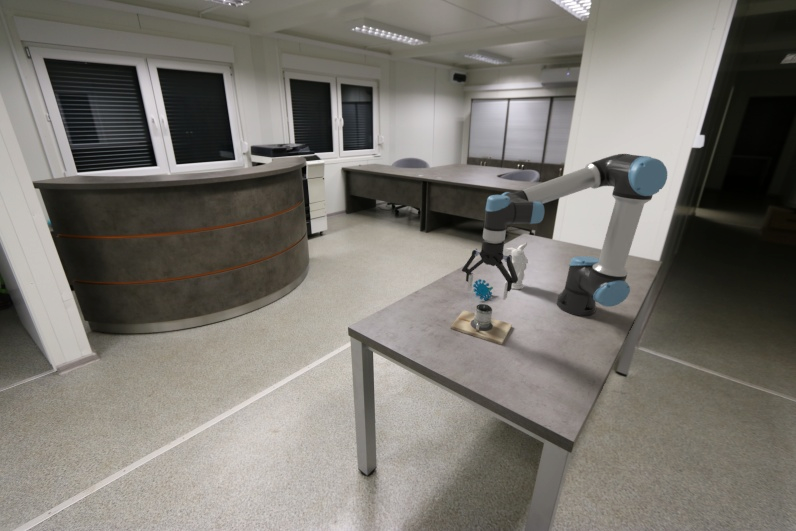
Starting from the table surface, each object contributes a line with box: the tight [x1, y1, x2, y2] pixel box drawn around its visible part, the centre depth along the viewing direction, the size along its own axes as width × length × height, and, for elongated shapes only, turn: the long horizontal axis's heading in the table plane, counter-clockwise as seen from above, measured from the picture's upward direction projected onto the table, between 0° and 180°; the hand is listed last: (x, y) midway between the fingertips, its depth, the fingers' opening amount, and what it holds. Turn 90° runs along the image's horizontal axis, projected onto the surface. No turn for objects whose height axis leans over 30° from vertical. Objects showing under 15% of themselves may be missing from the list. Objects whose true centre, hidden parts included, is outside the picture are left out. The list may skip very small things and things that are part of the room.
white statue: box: [504, 240, 529, 291], centre depth 169 cm, size 12×12×22 cm
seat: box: [471, 320, 493, 331], centre depth 136 cm, size 8×8×1 cm
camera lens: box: [474, 303, 493, 328], centre depth 134 cm, size 6×6×8 cm
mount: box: [450, 310, 513, 345], centre depth 136 cm, size 20×14×1 cm
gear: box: [472, 279, 494, 301], centre depth 161 cm, size 11×6×10 cm
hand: (486, 293), depth 131 cm, fingers open, 13 cm apart
